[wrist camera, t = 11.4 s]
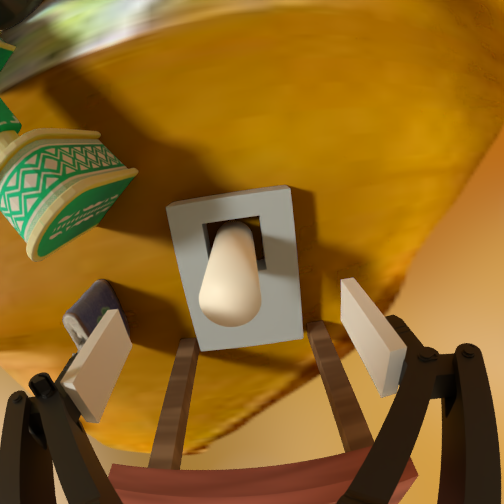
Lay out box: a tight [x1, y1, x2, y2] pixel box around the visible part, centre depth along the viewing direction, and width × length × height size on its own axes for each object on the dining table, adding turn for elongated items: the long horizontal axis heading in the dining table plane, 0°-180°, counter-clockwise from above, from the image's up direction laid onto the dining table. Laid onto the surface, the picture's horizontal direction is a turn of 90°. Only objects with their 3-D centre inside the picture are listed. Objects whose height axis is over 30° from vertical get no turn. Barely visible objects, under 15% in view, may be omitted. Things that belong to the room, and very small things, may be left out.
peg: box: [199, 221, 262, 327], centre depth 25 cm, size 4×4×14 cm
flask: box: [62, 279, 130, 356], centre depth 30 cm, size 9×3×11 cm, turn 10°
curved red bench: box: [108, 321, 418, 504], centre depth 24 cm, size 7×18×25 cm, turn 98°
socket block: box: [166, 185, 303, 351], centre depth 32 cm, size 17×12×3 cm
